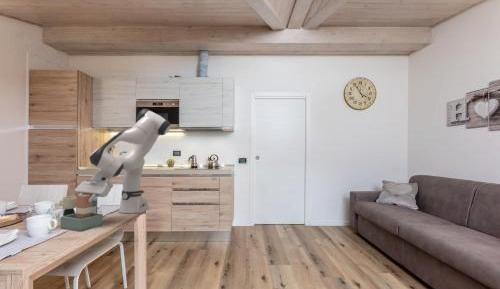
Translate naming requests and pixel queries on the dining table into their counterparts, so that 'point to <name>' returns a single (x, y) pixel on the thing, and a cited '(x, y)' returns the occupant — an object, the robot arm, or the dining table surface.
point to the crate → (81, 222)
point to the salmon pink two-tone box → (83, 206)
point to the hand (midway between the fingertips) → (83, 201)
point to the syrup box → (94, 206)
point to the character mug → (68, 205)
